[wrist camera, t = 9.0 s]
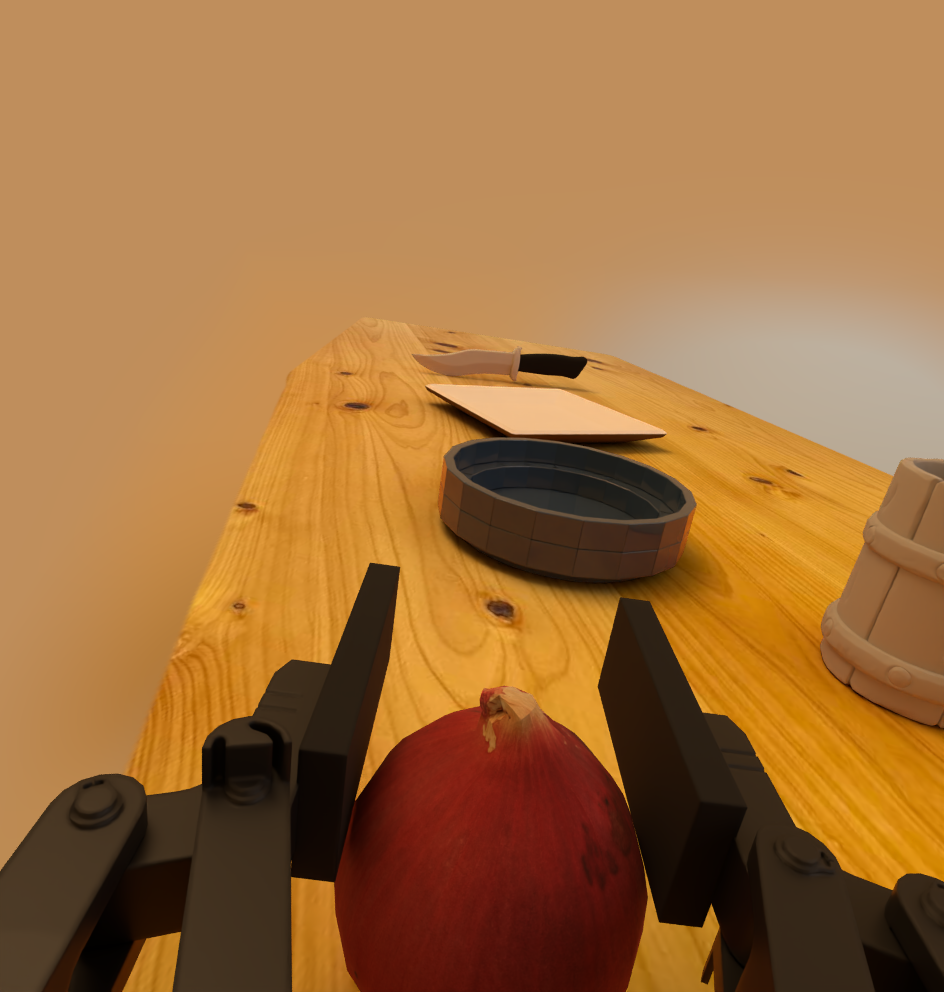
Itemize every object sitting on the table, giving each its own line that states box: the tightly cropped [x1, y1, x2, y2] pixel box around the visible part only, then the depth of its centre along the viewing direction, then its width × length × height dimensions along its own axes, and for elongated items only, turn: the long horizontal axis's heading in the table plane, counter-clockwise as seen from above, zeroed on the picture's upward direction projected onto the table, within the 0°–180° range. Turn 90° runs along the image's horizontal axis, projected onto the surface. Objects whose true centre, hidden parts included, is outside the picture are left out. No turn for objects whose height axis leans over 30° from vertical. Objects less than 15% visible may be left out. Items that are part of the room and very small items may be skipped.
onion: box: [334, 686, 648, 992], centre depth 12 cm, size 6×6×8 cm
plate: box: [425, 384, 667, 443], centre depth 68 cm, size 19×19×2 cm
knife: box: [412, 347, 587, 381], centre depth 90 cm, size 25×2×5 cm, turn 101°
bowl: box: [438, 437, 697, 583], centre depth 40 cm, size 15×15×4 cm
